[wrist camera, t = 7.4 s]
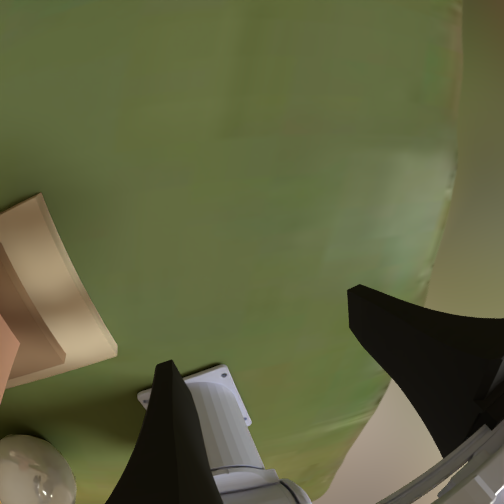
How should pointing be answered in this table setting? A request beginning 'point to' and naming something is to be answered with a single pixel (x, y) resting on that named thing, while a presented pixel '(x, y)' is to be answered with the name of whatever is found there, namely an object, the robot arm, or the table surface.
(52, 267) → the base board
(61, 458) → the potion bottle
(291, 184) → the table surface
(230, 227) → the table surface
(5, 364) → the block
